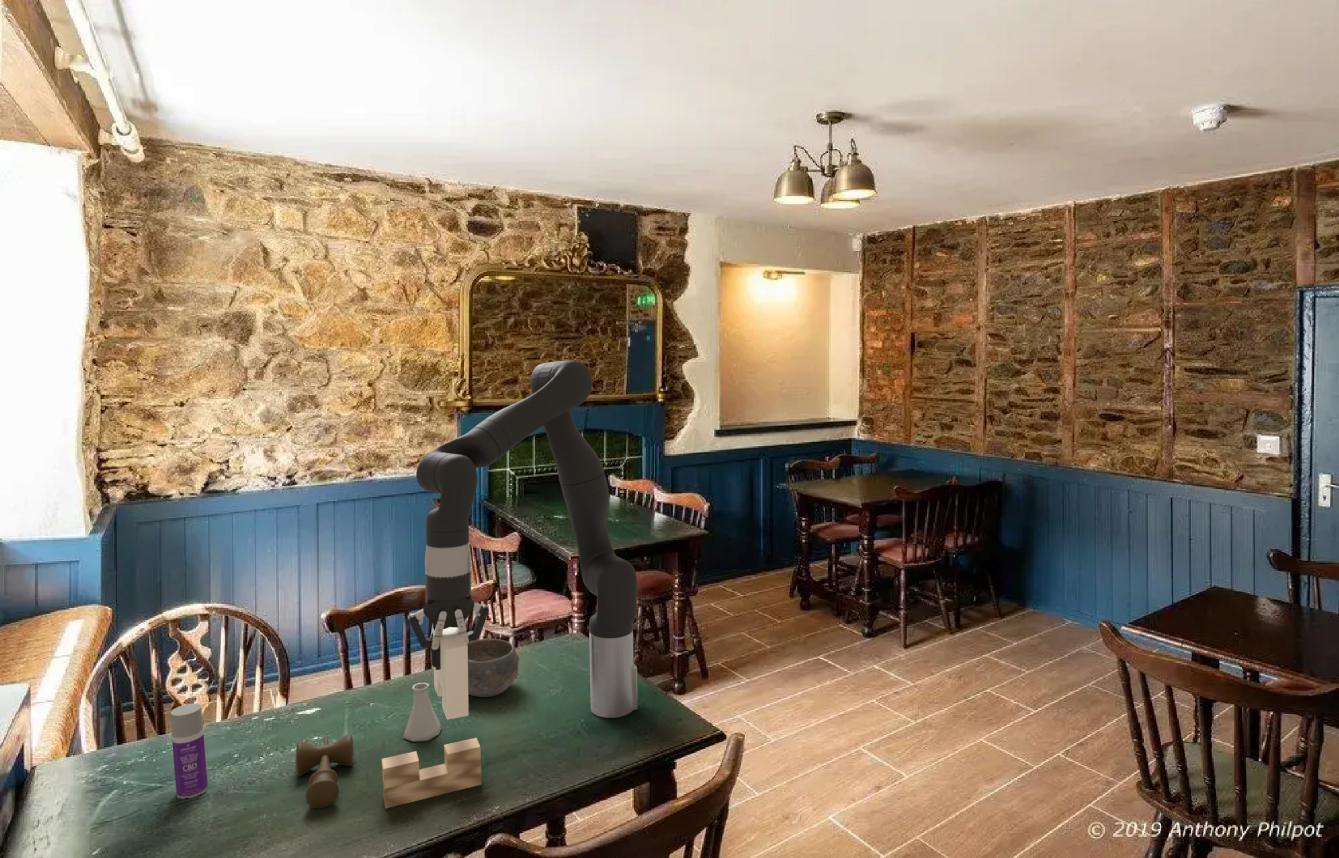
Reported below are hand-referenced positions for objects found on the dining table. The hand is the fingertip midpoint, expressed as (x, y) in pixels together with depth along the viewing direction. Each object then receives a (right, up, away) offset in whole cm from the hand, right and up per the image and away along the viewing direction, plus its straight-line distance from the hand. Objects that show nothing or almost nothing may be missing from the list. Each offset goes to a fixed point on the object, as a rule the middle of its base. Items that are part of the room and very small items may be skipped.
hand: (449, 665), depth 130 cm
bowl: (-3, -18, +39) cm, 43 cm away
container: (-45, -23, +1) cm, 51 cm away
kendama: (-24, -22, +5) cm, 33 cm away
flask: (-11, -20, +21) cm, 31 cm away
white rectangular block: (0, -6, +1) cm, 6 cm away
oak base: (-3, -22, +1) cm, 22 cm away
